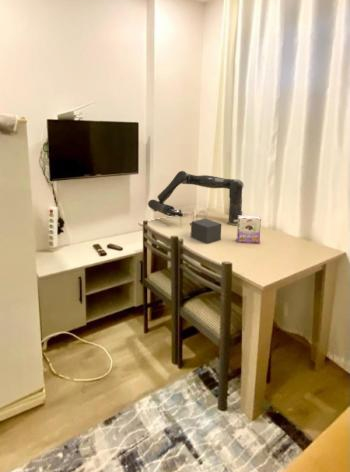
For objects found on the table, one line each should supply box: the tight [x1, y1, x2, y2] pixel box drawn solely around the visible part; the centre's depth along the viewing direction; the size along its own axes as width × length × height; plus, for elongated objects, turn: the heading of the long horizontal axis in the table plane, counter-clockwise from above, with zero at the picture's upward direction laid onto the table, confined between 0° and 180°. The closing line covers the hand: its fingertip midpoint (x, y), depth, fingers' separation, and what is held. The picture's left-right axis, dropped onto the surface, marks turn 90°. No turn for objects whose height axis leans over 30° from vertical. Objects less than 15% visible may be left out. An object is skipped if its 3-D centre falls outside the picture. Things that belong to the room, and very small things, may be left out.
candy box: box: [236, 215, 262, 244], centre depth 205 cm, size 14×6×16 cm, turn 84°
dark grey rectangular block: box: [190, 217, 222, 245], centre depth 210 cm, size 15×13×11 cm
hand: (182, 215), depth 228 cm, fingers closed
